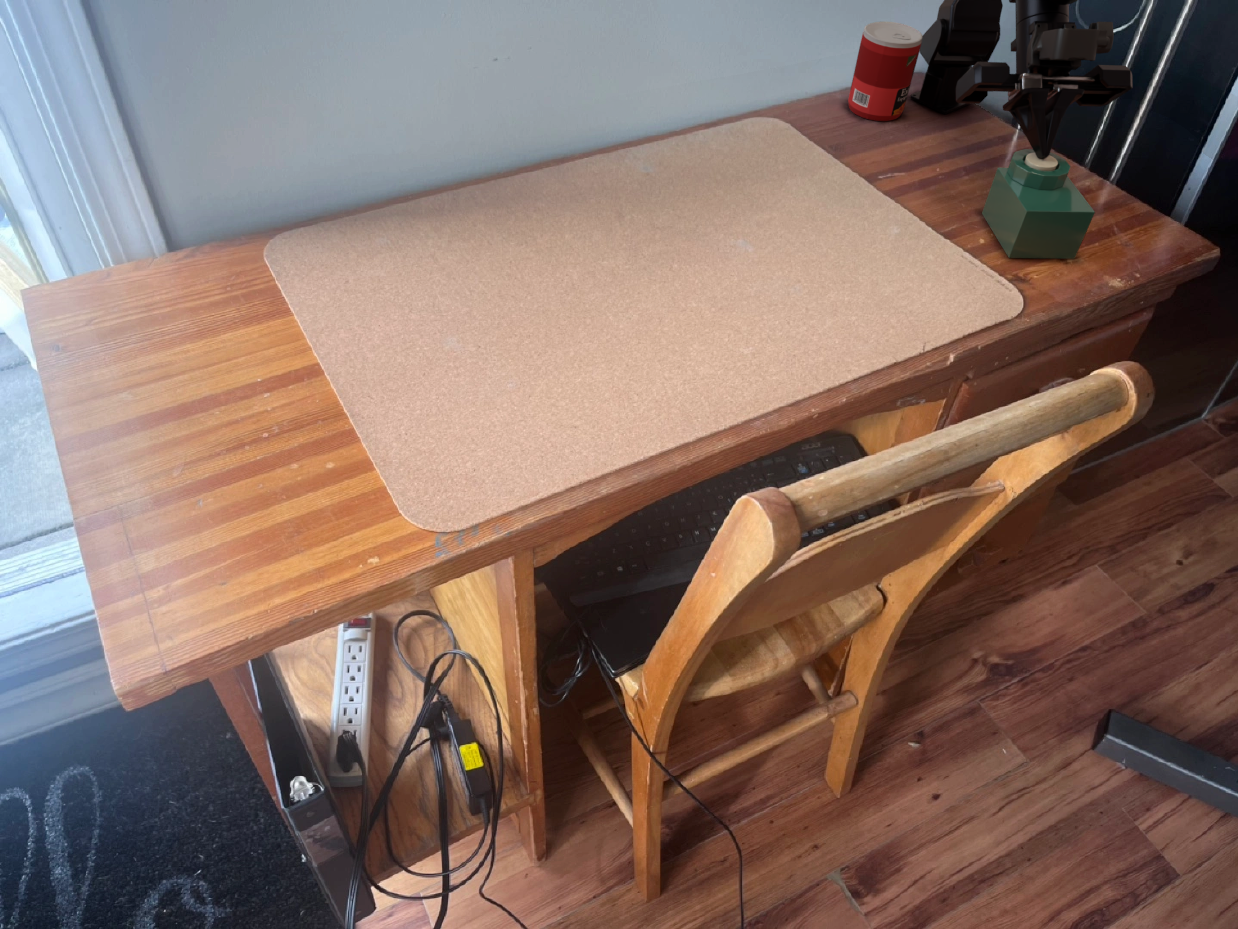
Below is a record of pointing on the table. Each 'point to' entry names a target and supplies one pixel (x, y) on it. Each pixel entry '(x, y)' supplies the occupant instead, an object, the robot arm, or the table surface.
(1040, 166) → the cream push button
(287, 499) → the table surface
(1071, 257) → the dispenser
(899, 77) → the canned food
